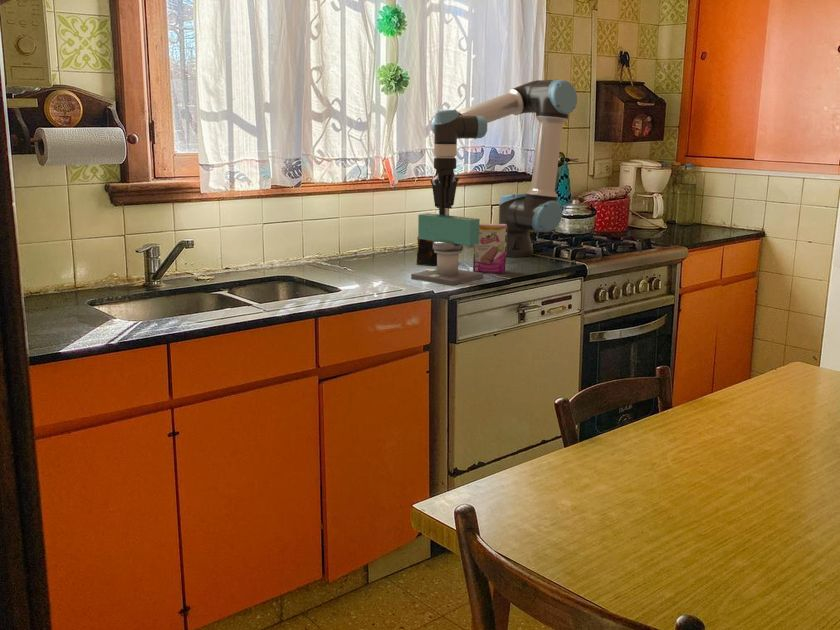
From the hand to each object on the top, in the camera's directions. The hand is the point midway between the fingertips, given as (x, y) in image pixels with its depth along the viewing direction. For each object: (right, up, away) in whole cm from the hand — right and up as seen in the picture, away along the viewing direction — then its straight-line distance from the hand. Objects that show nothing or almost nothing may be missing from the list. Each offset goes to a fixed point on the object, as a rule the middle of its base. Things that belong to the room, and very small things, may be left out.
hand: (443, 227), depth 286 cm
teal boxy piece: (+1, -8, -11) cm, 13 cm away
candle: (-3, -11, +18) cm, 21 cm away
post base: (+1, -18, -8) cm, 19 cm away
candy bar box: (+16, -15, +3) cm, 22 cm away
